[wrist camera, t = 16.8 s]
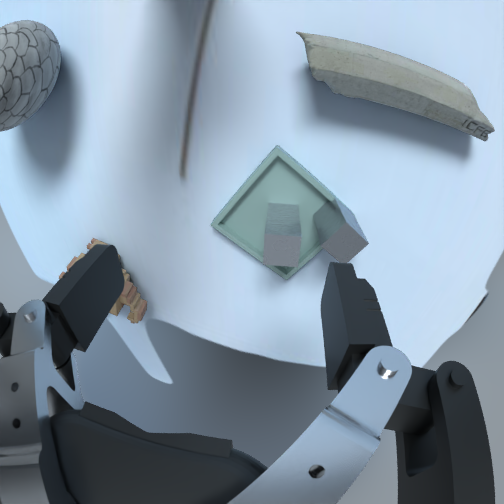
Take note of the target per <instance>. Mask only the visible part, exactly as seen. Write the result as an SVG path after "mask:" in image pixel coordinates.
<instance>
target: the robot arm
mask: <svg viewBox="0 0 504 504" xmlns="http://www.w3.org/2000/svg"><path fill="white" fill-rule="evenodd" d="M124 284H125V280H124V275H123V271H122V268H121V264H120V261H119V257H118V253H117V250H116V248H115V246H113V245H105V244H96V245H94V246H93V247H92V248H91V249H90V250H89V251H88V253H87V254H86V255H85V256H84V257H82V258H81V259H79V260H78V261H76V262H75V263H74V264H73V265H72V266H71V267H70V268H69V270H68V272H66V273H65V274H64V275H63V276H62V278H60V280H59V281H58V282H57V283H56V284H55V285H54V287H53V288H52V289H51V290H50V291H49V292H48V294H47V295H46V296H45V297H44V298H43V300H42V301H41V300H31V301H29V302H27V303H26V304H24V305H23V306H21V308H20V309H19V310H18V312H17V313H7V311H6V309H5V308H4V306H3V304H2V303H0V353H1V355H2V356H3V357H2V358H1V359H0V504H336V503H337V502H338V501H339V500H340V499H341V497H342V496H343V495H344V494H345V493H346V491H347V490H348V489H349V487H350V486H351V485H352V483H353V482H354V481H355V480H356V478H357V477H358V475H359V474H360V473H361V471H362V470H363V469H364V467H365V466H366V464H367V463H368V461H369V460H370V458H371V457H372V455H373V454H374V452H375V451H376V449H377V447H378V445H379V443H380V438H379V436H380V434H381V432H382V430H383V429H389V430H394V431H395V433H396V445H397V465H398V504H495V489H494V476H493V467H492V459H491V452H490V446H489V440H488V435H487V430H486V425H485V421H484V417H483V413H482V409H481V405H480V401H479V397H478V394H477V390H476V387H475V384H474V381H473V378H472V375H471V373H470V372H469V370H468V369H467V368H466V367H465V366H464V365H462V364H461V363H459V362H456V361H447V362H445V363H443V364H442V365H441V366H440V367H439V368H438V369H437V370H436V371H433V370H428V369H424V368H420V367H415V366H412V365H411V363H410V361H409V359H408V358H407V356H406V355H405V354H404V353H403V352H402V351H400V350H398V349H396V348H394V347H393V346H392V343H391V340H390V336H389V333H388V330H387V327H386V323H385V320H384V317H383V314H382V311H381V308H380V305H379V302H377V301H378V299H377V296H376V294H375V291H374V288H373V287H372V286H371V285H370V284H369V283H368V282H367V281H366V280H365V279H360V278H357V277H356V273H355V270H354V267H353V265H352V264H351V263H338V262H331V263H330V265H329V268H328V273H327V277H326V281H325V286H324V290H323V294H322V299H321V319H322V328H323V338H324V348H325V360H326V372H327V386H328V390H338V395H337V397H336V398H335V399H334V400H333V402H332V403H331V404H330V405H329V406H328V407H326V408H325V409H324V410H323V411H322V412H321V413H320V415H319V416H318V417H317V418H316V419H315V420H314V421H313V423H312V424H311V425H310V426H309V427H308V428H307V429H306V430H305V432H304V433H303V434H302V435H301V436H300V437H299V438H298V439H297V440H296V441H295V442H294V443H293V444H292V446H291V447H290V448H289V449H288V450H287V451H286V452H285V453H284V454H283V455H282V456H281V457H280V458H279V459H278V460H277V461H276V462H275V463H274V464H272V465H271V466H270V467H269V468H267V467H266V466H265V465H263V464H262V463H261V462H260V461H258V460H256V459H255V458H253V457H252V456H250V455H248V454H246V453H244V452H242V451H239V450H237V449H234V448H233V445H232V440H227V439H219V438H213V437H207V436H202V435H197V434H191V433H148V432H145V431H143V430H142V429H140V428H138V427H136V426H135V425H133V424H132V423H130V422H129V421H127V420H126V419H124V418H122V417H121V416H119V415H118V414H116V413H115V412H112V411H109V410H106V409H104V408H101V407H99V406H96V405H93V404H91V403H88V402H84V400H83V397H82V394H81V389H80V383H79V377H78V371H77V364H76V358H75V355H74V353H73V352H72V351H73V349H77V350H80V351H83V352H86V350H87V348H88V347H89V345H90V343H91V341H92V340H93V338H94V336H95V335H96V333H97V331H98V329H99V328H100V326H101V325H102V323H103V321H104V320H105V318H106V317H107V315H108V313H109V312H110V310H111V309H112V307H113V306H114V304H115V302H116V301H117V299H118V298H119V296H120V295H121V293H122V292H123V289H124Z"/></svg>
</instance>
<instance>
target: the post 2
mask: <svg viewBox="0 0 504 504" xmlns="http://www.w3.org/2000/svg"><path fill="white" fill-rule="evenodd" d="M313 216H314V220H315V224H316V228H317V233H318V237H319V241H320V246H321V247H322V248H323V249H325V250H326V251H327V252H328V253H329V254H331V255H332V256H333V257H334V258H335V259H337V260H338V261H339V262H340V263H347V262H349V261H350V260H351V259H352V258H353V257H354V256H355V255H357V254H358V253H359V252H360V251H361V250H362V249H363V248H364V247H366V246H367V245H368V244H369V243H368V241H367V239H366V237H365V235H364V233H363V231H362V230H361V228H360V226H359V224H358V222H357V220H356V218H355V217H354V215H353V213H352V211H350V210H349V209H348V208H347V207H345V206H344V205H342V204H341V203H340V202H338V201H337V200H336V199H334V200H333V201H330V200H328V201H327V202H326V203H325V204H324V205H323V206H322V207H321V208H320V209H319V210H318V211H317V212H315V213H314V214H313Z"/></svg>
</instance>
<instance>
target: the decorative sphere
mask: <svg viewBox="0 0 504 504" xmlns="http://www.w3.org/2000/svg"><path fill="white" fill-rule="evenodd" d="M60 64H61V52H60V46H59V43H58V40H57V38H56V36H55V35H54V33H53V32H52V31H51V30H50V29H49V28H48V27H47V26H45V25H43V24H41V23H39V22H35V21H29V20H23V21H16V22H12V23H9V24H7V25H4V26H2V27H1V28H0V132H1V131H5V130H9V129H12V128H14V127H16V126H18V125H20V124H22V123H23V122H25V121H26V120H28V119H29V118H30V117H31V116H33V115H34V114H35V113H36V112H37V111H38V110H39V109H40V107H41V106H42V105H43V104H44V103H45V101H46V100H47V98H48V97H49V95H50V93H51V92H52V90H53V88H54V86H55V83H56V81H57V78H58V75H59V70H60Z"/></svg>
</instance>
